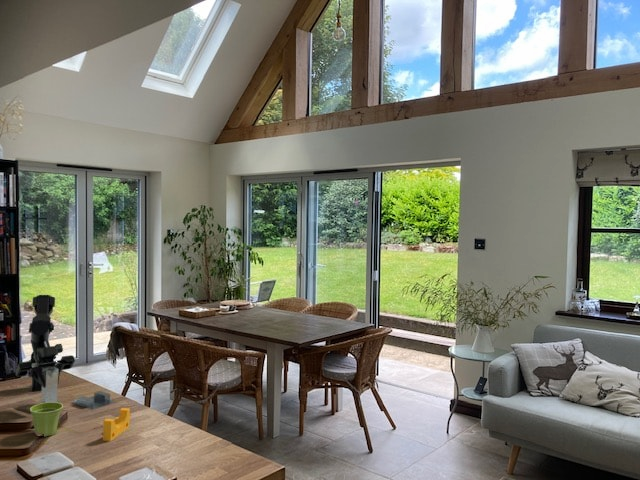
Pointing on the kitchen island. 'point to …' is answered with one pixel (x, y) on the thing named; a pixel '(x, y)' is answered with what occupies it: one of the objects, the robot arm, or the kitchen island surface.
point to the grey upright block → (50, 385)
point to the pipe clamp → (116, 425)
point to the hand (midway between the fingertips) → (51, 385)
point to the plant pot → (46, 417)
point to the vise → (94, 400)
